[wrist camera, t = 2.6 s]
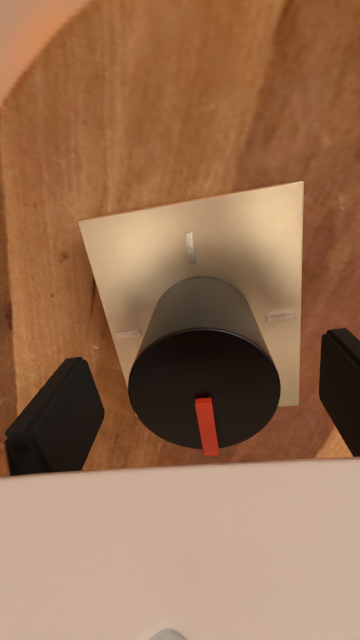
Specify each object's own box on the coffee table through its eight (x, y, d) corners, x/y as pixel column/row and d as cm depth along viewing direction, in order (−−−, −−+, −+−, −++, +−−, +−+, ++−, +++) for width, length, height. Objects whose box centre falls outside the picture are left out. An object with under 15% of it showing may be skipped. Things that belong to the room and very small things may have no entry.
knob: (142, 284, 14) (106, 343, 8) (249, 269, 13) (283, 323, 8) (162, 370, 16) (143, 460, 10) (255, 361, 15) (284, 453, 10)
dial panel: (98, 215, 15) (74, 220, 12) (284, 182, 14) (305, 180, 11) (144, 387, 20) (135, 419, 17) (285, 374, 19) (300, 407, 16)
